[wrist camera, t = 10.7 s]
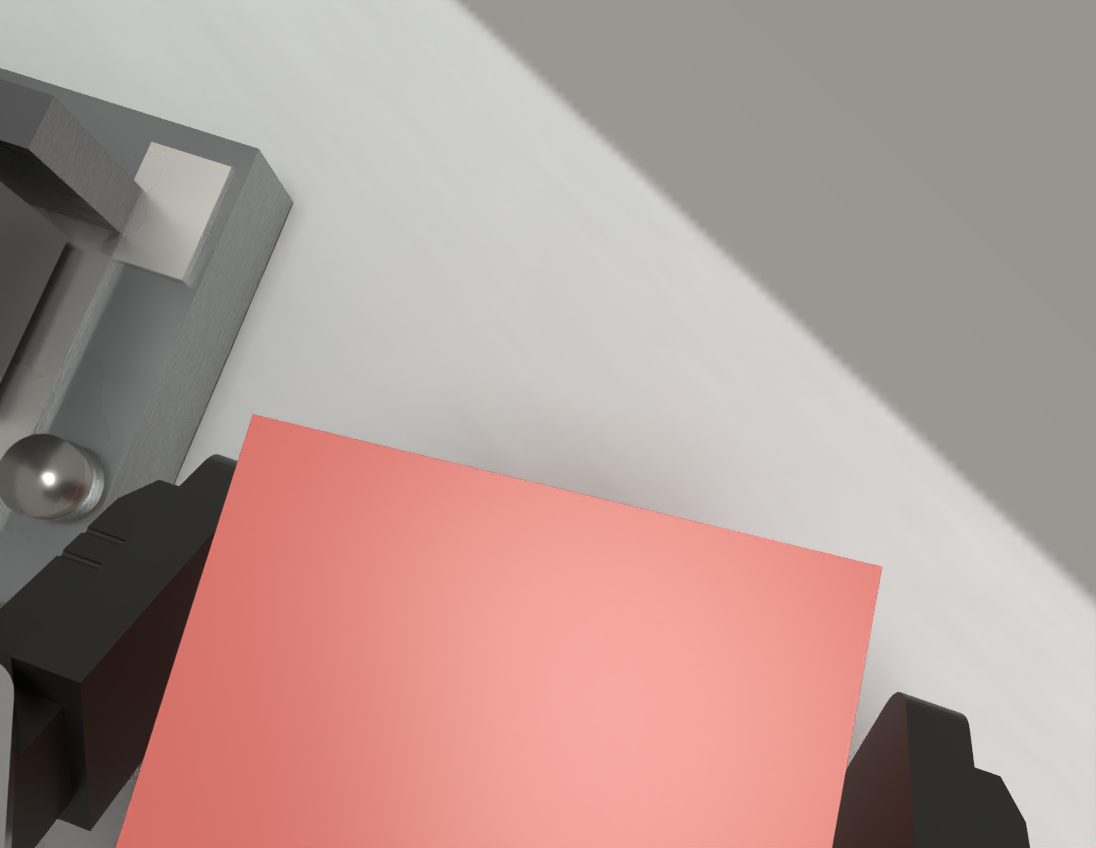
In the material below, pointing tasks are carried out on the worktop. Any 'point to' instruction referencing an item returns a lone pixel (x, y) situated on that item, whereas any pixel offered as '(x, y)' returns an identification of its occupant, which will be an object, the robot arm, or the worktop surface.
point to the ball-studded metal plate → (118, 305)
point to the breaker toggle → (22, 267)
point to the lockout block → (495, 668)
